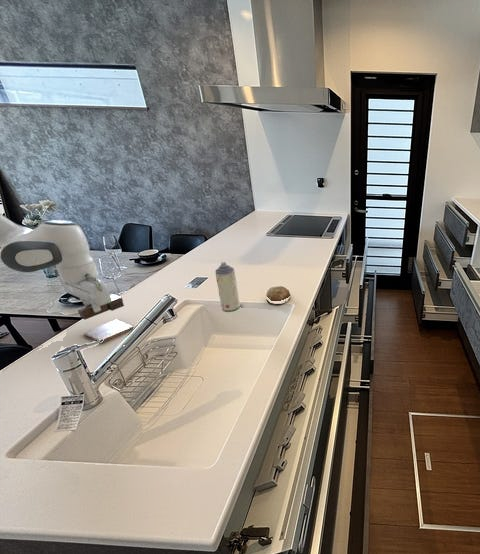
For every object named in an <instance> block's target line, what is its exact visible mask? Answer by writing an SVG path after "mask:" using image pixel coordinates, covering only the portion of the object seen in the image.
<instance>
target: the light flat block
mask: <svg viewBox="0 0 480 554" xmlns="http://www.w3.org/2000/svg"><path fill="white" fill-rule="evenodd" d="M133 328H134V326H133V325H131V324H129V323H126V322H124V321H122V320H119V319H113V320H111V321H108V322H106V323H104V324H101V325H99V326H96V327H94V328H92V329H88V330H87V331H85V332H83V335H84V336H86V337H87V338H89V339H92V340H93V341H96V340H99V339H104V341H103V342H102V343H101V344H104V343H106V342H108V341H110V340H113V339H114V338H117V337H118V336H121V335H123V334H125V333H128V332H129V331H132V330H134V329H133ZM96 342H97V341H96Z"/></svg>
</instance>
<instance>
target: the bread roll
mask: <svg viewBox="0 0 480 554" xmlns="http://www.w3.org/2000/svg"><path fill="white" fill-rule="evenodd" d="M266 296H267V297H268V298H269V299H270V300H271V301H281V300H284V299H286V298H288V297H289V296H290V297H291V293H290V290H289V289H288V288H286V287H284V286H281V285H280V286H278V285H277V286H272V287H270V288H269V289H268V290H267V292H266V295H265V297H266Z"/></svg>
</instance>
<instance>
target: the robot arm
mask: <svg viewBox="0 0 480 554" xmlns="http://www.w3.org/2000/svg"><path fill="white" fill-rule="evenodd" d="M90 249H91V247H90V244H89V242H88V239H87V236H86V234H85V233H84V231H83V229H82V228H81V226H80V225H79V224H77V223H76V222H74V221H71V220H63V219H52V220H51V219H50V220H46V221H45V220H44V221H43V222H42V223H41V224H39V225H38V226H37V227H35V228H29V227H26V226H23V225H21V224H18V223H16V222H14V221H12V220H11V219H9V218H8V217H7V216H5V215H4V214H2V213H0V259H1V262H2V263H3V265H5V266H6V267H7V268H9V269H11V270H12V271H15V272H20V273H33V272H38V271H42V270H45V269H48V268H51V267H55V268H52V272H53V275H55V276H57V278H58V281H59V283H60V285H61V287H62V288H63V289H64V291H65V292H66V293H67V294H70V295H72V296H74V297H76V298H78V299H79V300H80V302H82V304H83V305H84V308H85V307H87V306H90V305H92V307H91V309H92V311H93V312H99V311H101V308H100V306H102V305H105V304H107V303H110V302H111V296H110V295H111V294H110V292H109V289H108V287H107V285H106V283H105V281H103V280H101V279H99V278H98V277H97V276H98V275H100V272H99V269H98V266H97V264H96V261H95V258H94V257H93V256H92V254H91V252H90Z"/></svg>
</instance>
